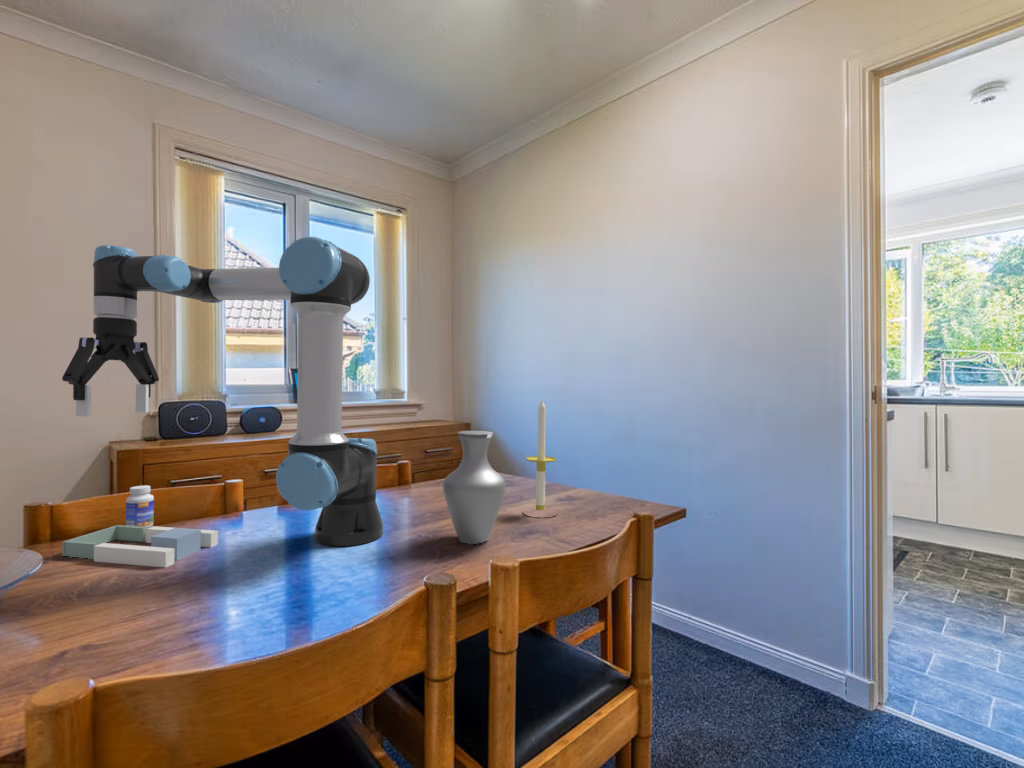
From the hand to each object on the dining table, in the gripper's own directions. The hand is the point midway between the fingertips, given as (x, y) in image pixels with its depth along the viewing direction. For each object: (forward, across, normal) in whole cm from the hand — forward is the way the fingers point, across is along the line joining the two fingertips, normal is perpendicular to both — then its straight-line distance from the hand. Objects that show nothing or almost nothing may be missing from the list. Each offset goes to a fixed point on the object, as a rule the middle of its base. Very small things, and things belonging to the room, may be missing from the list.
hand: (114, 414), depth 109 cm
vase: (+28, -16, +78) cm, 85 cm away
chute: (+28, +5, +16) cm, 33 cm away
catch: (+28, +5, +4) cm, 29 cm away
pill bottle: (+28, -9, -3) cm, 30 cm away
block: (+28, +5, +20) cm, 35 cm away
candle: (+28, -42, +91) cm, 104 cm away
